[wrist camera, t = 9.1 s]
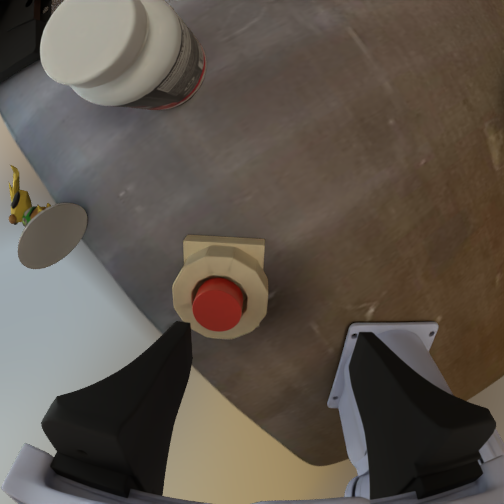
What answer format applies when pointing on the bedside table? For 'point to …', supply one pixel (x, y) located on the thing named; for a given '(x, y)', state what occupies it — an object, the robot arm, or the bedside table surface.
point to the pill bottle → (123, 53)
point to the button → (218, 304)
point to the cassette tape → (21, 33)
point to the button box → (228, 267)
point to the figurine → (45, 228)
